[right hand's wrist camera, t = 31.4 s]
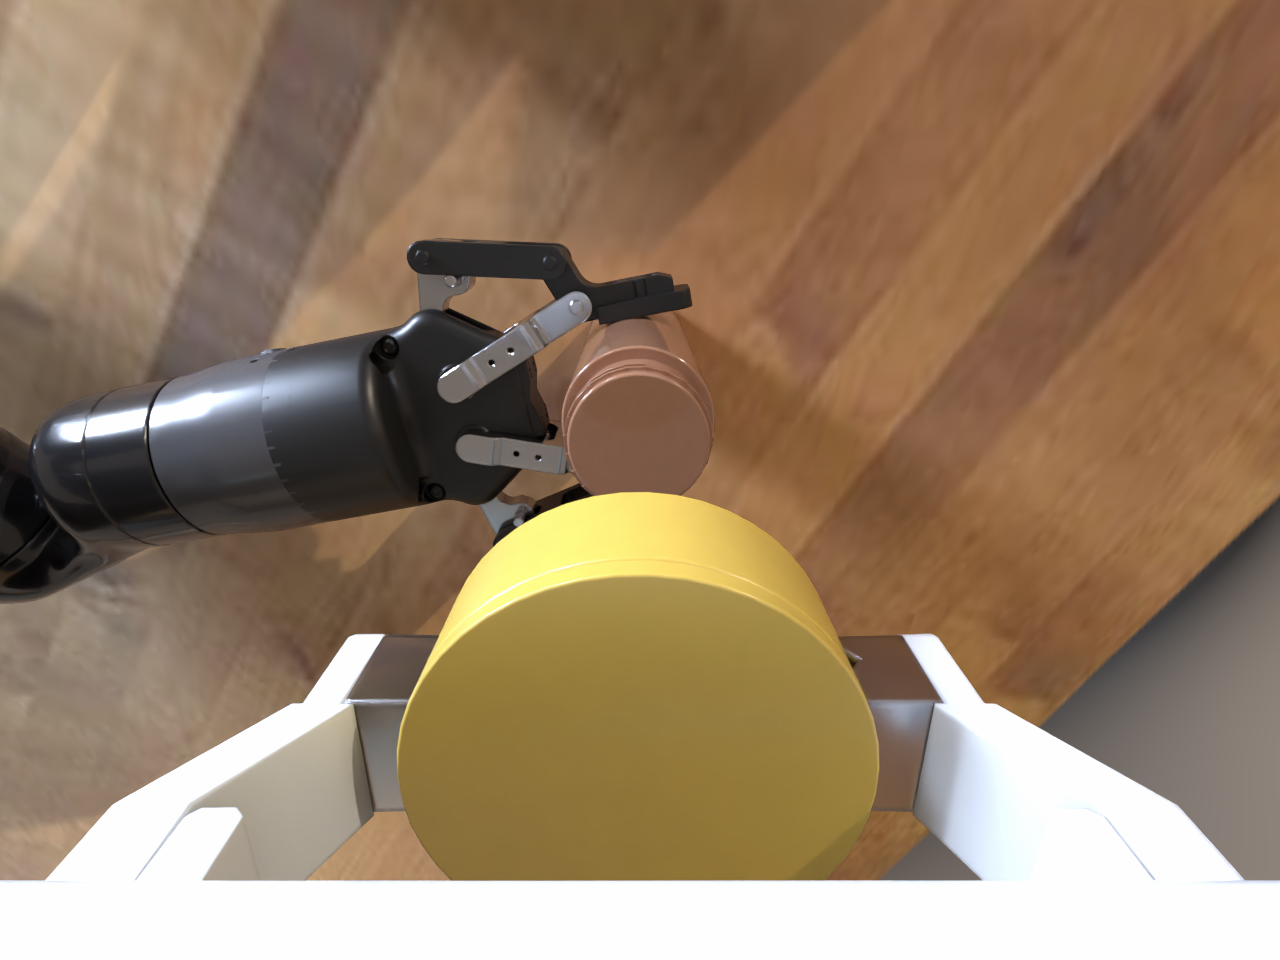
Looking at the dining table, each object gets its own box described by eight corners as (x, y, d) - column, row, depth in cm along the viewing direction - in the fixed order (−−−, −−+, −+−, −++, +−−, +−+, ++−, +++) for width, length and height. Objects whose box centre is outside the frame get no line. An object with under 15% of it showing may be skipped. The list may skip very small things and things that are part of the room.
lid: (688, 858, 12) (699, 1004, 10) (382, 712, 11) (317, 840, 9) (909, 617, 10) (983, 728, 8) (572, 411, 9) (550, 474, 7)
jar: (584, 297, 34) (546, 363, 19) (685, 293, 34) (723, 356, 19) (590, 395, 36) (561, 524, 21) (686, 392, 36) (722, 517, 21)
